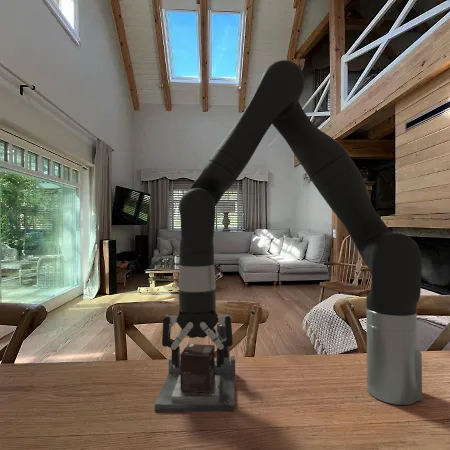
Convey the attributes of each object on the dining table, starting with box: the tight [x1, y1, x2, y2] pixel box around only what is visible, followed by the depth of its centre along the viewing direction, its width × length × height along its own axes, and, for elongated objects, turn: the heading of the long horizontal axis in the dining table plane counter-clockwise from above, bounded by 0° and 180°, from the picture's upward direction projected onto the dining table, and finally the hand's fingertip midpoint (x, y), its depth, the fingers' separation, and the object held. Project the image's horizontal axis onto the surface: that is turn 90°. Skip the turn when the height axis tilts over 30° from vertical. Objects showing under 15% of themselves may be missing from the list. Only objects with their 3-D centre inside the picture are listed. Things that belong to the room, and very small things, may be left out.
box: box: [180, 343, 216, 392], centre depth 66 cm, size 6×6×7 cm
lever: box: [215, 322, 231, 365], centre depth 75 cm, size 3×3×9 cm
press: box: [154, 355, 236, 413], centre depth 69 cm, size 15×16×4 cm
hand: (198, 366), depth 66 cm, fingers open, 8 cm apart
